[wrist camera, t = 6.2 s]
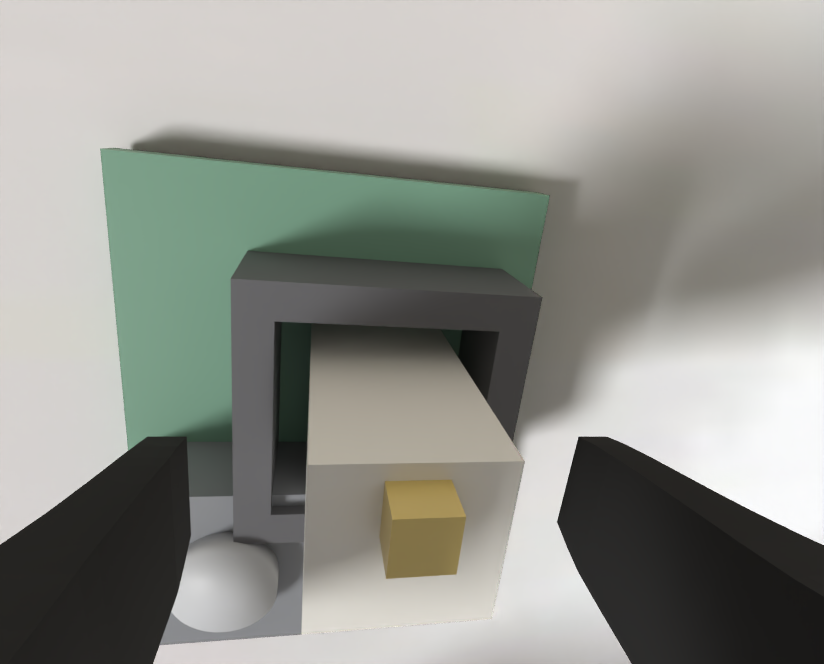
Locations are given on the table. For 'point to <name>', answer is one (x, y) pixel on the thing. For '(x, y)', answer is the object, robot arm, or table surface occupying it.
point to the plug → (401, 483)
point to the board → (290, 336)
